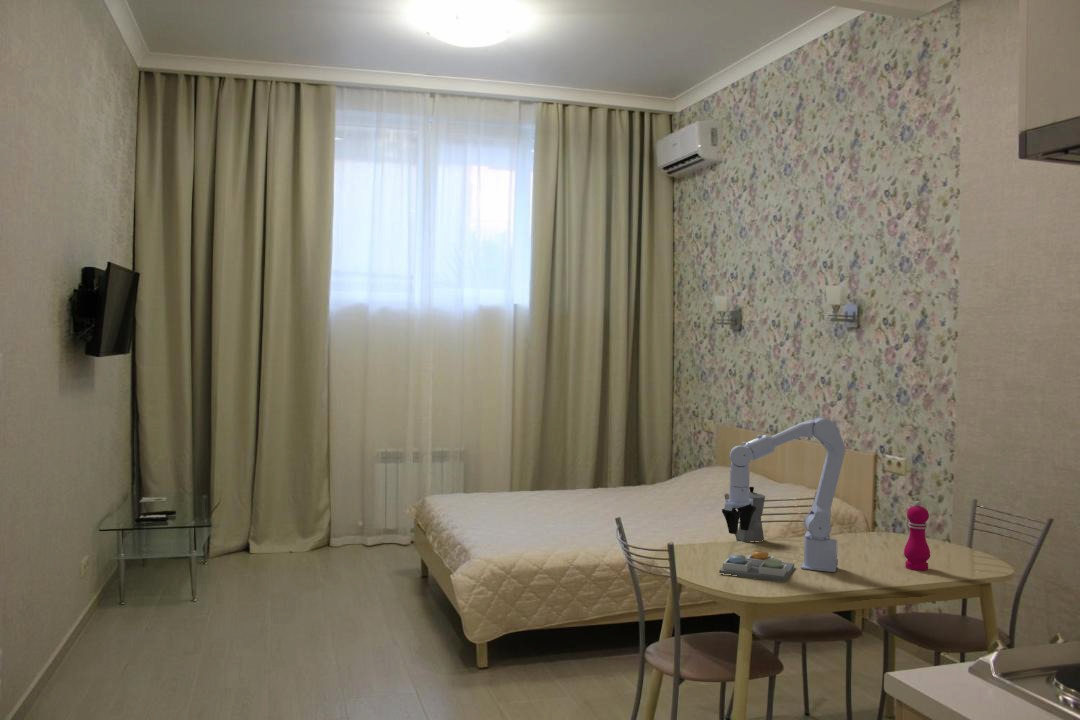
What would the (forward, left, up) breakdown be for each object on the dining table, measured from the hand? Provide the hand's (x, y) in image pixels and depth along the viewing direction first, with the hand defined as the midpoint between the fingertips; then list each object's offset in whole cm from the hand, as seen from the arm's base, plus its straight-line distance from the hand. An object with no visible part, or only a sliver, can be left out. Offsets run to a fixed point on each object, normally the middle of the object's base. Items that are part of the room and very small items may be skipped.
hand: (738, 531), depth 260 cm
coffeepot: (+3, -36, -10) cm, 37 cm away
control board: (-7, +7, -9) cm, 14 cm away
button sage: (-12, +11, -7) cm, 18 cm away
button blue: (-2, +11, -7) cm, 13 cm away
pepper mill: (-49, -20, -10) cm, 54 cm away
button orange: (-7, +2, -7) cm, 10 cm away
